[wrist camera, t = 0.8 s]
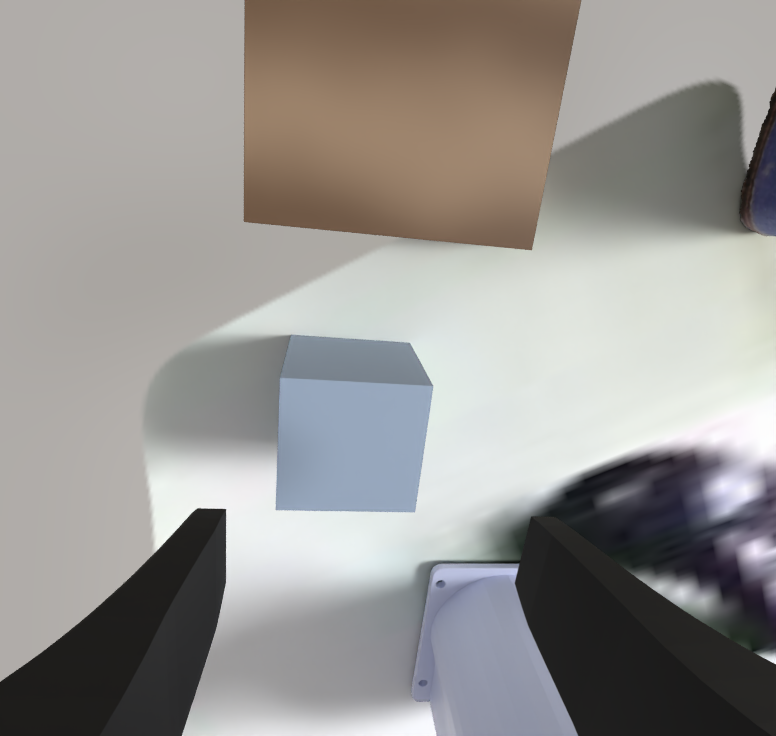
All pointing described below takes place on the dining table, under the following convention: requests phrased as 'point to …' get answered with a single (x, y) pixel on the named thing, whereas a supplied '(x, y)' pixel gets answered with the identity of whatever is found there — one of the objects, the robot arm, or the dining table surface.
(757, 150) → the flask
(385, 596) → the dining table surface
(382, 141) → the walnut base
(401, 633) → the dining table surface
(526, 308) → the dining table surface
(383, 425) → the slate cube
